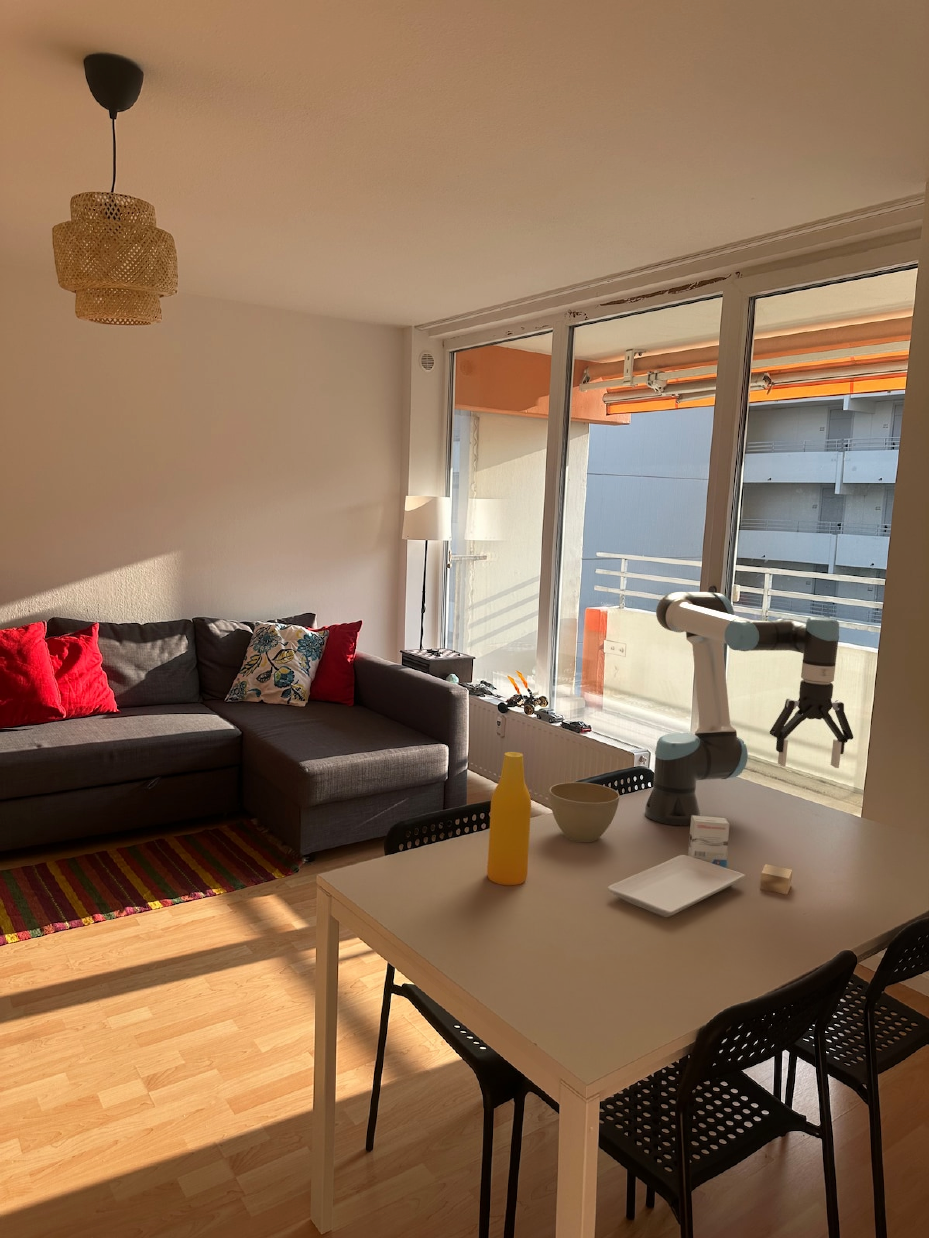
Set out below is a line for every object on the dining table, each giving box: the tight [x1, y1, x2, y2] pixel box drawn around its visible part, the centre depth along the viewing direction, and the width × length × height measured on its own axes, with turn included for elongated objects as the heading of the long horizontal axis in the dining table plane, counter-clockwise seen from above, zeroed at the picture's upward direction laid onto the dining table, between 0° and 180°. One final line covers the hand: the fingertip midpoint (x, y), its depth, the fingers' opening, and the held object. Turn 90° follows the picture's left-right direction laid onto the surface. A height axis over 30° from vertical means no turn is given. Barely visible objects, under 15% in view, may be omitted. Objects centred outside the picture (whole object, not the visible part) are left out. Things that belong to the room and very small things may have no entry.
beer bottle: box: [486, 751, 532, 886], centre depth 202 cm, size 9×9×29 cm
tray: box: [607, 854, 746, 918], centre depth 199 cm, size 17×32×4 cm, turn 134°
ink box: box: [687, 815, 730, 868], centre depth 216 cm, size 8×5×12 cm, turn 84°
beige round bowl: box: [548, 781, 620, 843], centre depth 232 cm, size 18×18×12 cm
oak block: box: [759, 863, 793, 895], centre depth 205 cm, size 6×6×4 cm
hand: (808, 765), depth 219 cm, fingers open, 13 cm apart
